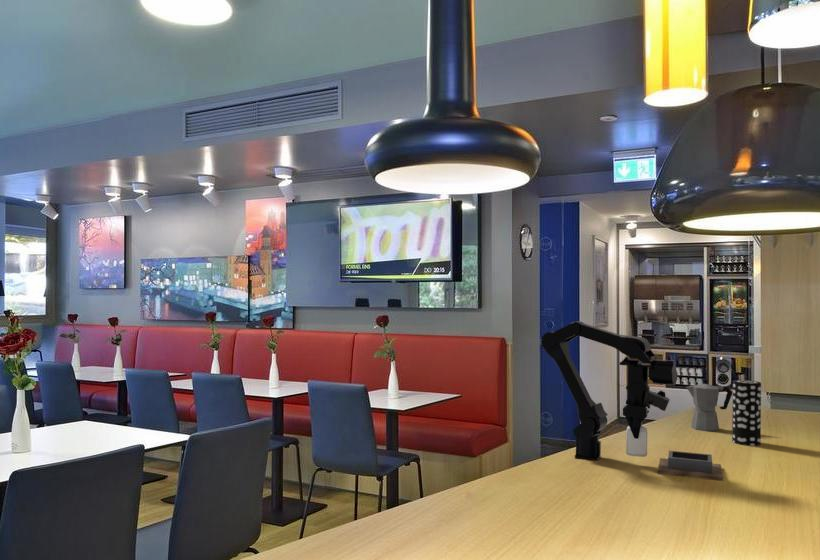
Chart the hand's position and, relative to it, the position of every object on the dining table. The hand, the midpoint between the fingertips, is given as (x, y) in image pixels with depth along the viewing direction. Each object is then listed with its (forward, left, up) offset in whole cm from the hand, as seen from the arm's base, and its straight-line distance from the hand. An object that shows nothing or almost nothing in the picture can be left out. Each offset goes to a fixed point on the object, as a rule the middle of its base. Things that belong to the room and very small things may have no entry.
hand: (636, 437), depth 191 cm
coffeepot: (+20, +65, -8) cm, 68 cm away
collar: (+14, 0, -8) cm, 16 cm away
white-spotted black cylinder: (+31, +46, -8) cm, 56 cm away
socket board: (+14, 0, -8) cm, 16 cm away
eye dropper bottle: (0, 0, -5) cm, 5 cm away
